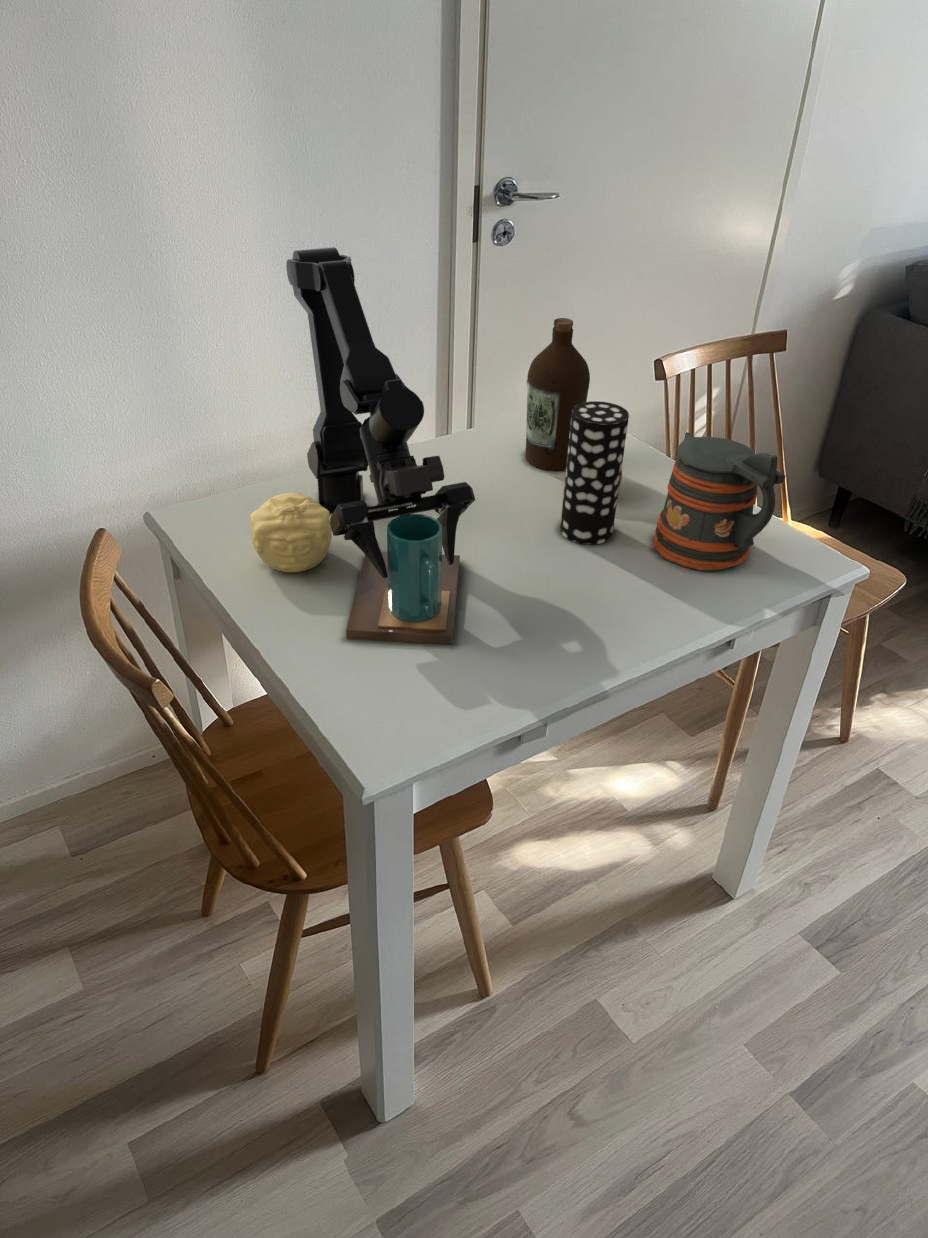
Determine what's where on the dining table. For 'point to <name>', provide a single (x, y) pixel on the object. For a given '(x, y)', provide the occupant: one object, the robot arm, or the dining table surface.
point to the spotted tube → (593, 471)
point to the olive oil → (554, 398)
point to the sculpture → (291, 532)
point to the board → (380, 625)
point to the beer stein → (715, 503)
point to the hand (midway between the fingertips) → (419, 570)
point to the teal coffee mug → (414, 567)
